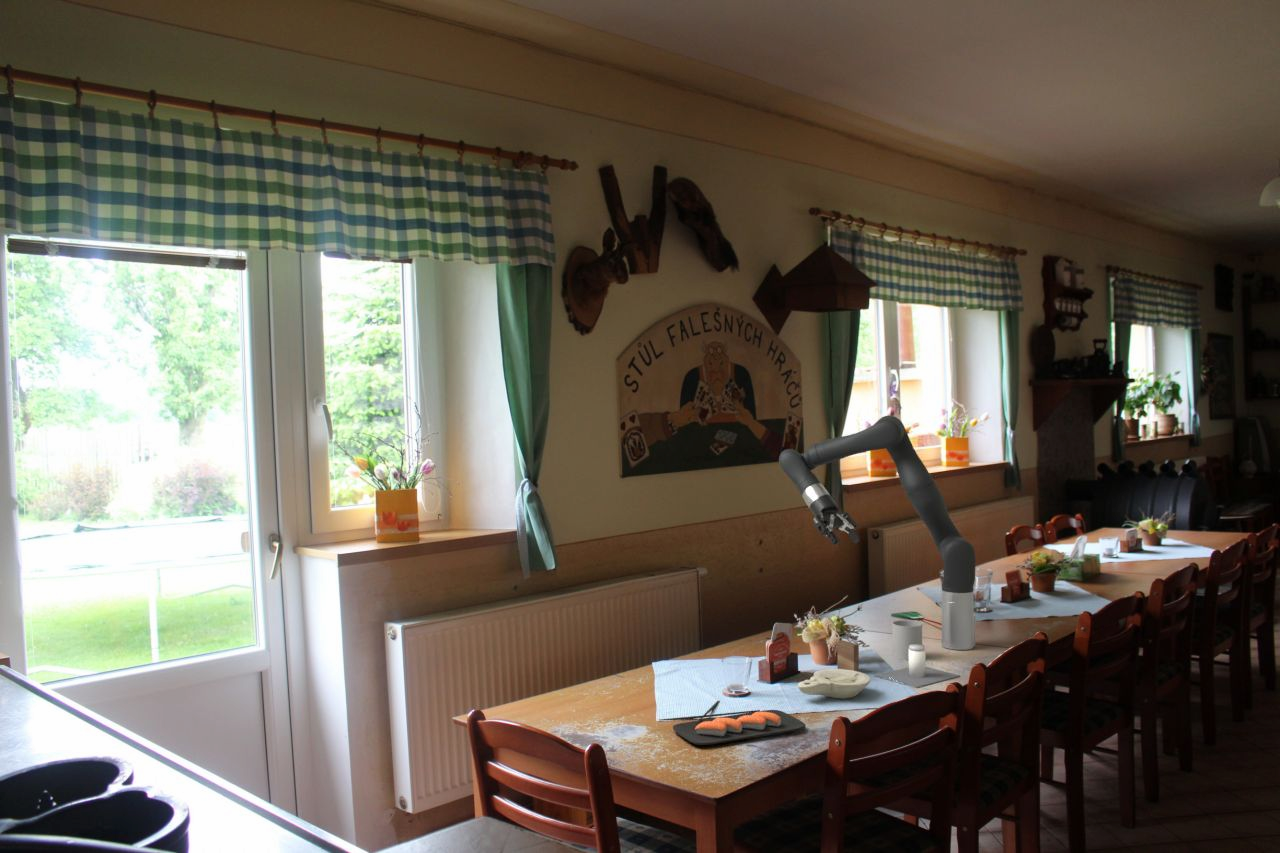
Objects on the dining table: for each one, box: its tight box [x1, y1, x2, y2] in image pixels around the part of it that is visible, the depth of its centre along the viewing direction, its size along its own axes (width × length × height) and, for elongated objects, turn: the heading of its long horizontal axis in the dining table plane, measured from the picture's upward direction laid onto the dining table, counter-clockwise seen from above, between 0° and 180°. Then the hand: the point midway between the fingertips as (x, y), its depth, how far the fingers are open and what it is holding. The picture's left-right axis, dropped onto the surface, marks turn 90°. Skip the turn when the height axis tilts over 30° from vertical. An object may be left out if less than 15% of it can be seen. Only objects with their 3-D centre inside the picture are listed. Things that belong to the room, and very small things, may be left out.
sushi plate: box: [658, 700, 806, 746], centre depth 232 cm, size 29×30×4 cm
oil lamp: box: [797, 668, 871, 699], centre depth 251 cm, size 21×14×5 cm
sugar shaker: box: [908, 644, 927, 678], centre depth 269 cm, size 4×4×8 cm
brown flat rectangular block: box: [836, 639, 860, 672], centre depth 275 cm, size 2×6×8 cm, turn 35°
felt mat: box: [874, 666, 961, 688], centre depth 269 cm, size 18×14×1 cm
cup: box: [892, 619, 923, 662], centre depth 289 cm, size 8×8×10 cm
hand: (847, 542), depth 297 cm, fingers open, 8 cm apart
